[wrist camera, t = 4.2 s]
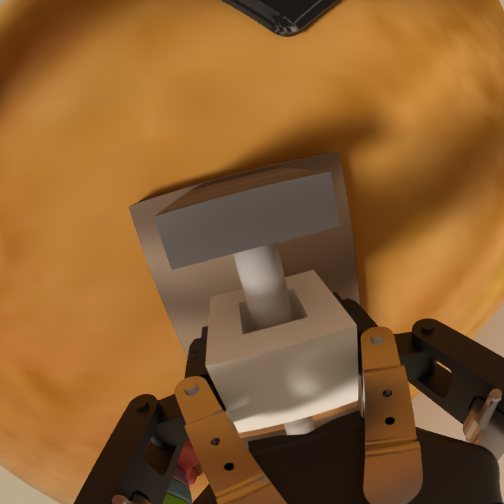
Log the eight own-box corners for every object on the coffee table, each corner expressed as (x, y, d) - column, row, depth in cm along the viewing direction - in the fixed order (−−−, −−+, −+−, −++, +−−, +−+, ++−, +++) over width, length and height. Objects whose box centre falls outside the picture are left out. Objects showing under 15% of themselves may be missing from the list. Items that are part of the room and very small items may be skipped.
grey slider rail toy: (136, 202, 16) (53, 245, 7) (329, 152, 16) (426, 149, 7) (244, 452, 24) (253, 524, 15) (355, 422, 24) (385, 488, 15)
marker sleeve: (210, 296, 13) (205, 365, 8) (313, 269, 13) (356, 324, 8) (233, 360, 14) (238, 432, 10) (323, 335, 14) (358, 400, 10)
